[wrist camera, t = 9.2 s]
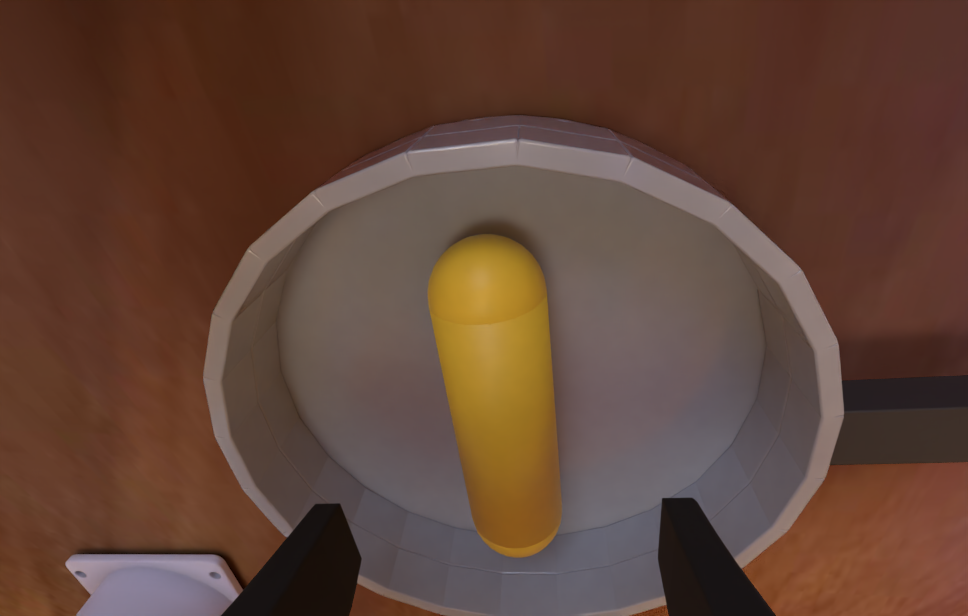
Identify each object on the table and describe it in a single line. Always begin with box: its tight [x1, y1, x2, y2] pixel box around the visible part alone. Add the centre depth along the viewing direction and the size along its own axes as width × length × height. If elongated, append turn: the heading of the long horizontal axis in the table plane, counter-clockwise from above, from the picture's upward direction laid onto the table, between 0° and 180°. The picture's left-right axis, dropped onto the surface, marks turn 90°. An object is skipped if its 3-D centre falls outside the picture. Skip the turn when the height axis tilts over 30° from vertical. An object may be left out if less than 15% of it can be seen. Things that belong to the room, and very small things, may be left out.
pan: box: [203, 115, 844, 616], centre depth 14 cm, size 16×16×4 cm
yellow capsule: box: [427, 234, 562, 558], centre depth 14 cm, size 11×3×3 cm, turn 7°
